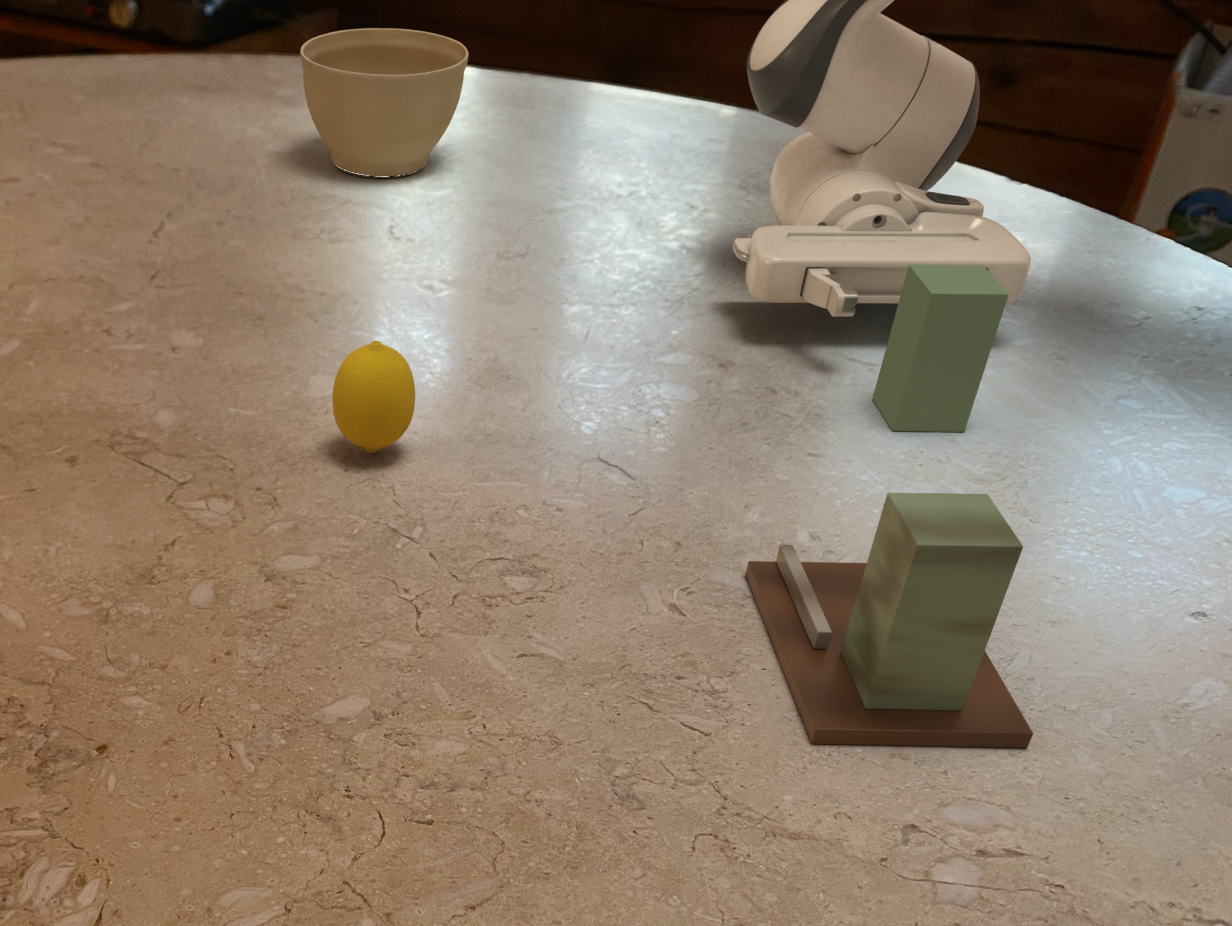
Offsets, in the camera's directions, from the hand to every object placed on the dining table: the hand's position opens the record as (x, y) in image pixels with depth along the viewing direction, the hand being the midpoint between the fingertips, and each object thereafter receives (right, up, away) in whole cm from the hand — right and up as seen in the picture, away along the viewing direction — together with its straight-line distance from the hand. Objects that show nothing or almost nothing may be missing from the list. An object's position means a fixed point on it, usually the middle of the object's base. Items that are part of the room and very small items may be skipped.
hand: (912, 307), depth 105 cm
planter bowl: (-35, +26, +42) cm, 60 cm away
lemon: (-39, -12, -5) cm, 42 cm away
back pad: (0, -8, -2) cm, 8 cm away
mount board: (-13, -27, -25) cm, 39 cm away
